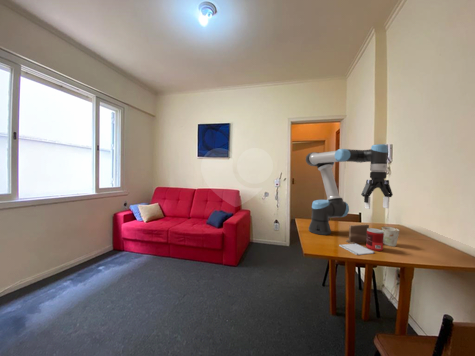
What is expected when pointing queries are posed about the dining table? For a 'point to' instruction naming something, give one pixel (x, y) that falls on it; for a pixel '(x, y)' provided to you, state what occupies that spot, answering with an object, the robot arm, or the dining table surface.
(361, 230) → the brown block
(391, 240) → the mug
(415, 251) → the dining table surface
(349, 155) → the robot arm
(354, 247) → the mat
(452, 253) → the dining table surface
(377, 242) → the canned food
